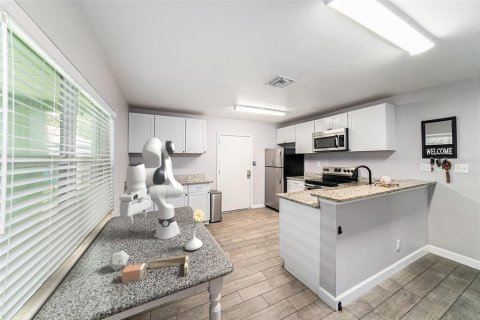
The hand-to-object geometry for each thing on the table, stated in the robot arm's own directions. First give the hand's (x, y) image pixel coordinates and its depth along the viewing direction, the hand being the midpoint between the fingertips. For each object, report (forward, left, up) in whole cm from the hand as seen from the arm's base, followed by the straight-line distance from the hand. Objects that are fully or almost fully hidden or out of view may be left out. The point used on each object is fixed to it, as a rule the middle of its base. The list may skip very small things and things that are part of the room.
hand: (138, 220), depth 92 cm
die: (-8, -13, -28) cm, 31 cm away
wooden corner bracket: (+3, +14, -27) cm, 31 cm away
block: (+3, -2, -28) cm, 28 cm away
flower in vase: (-19, +27, -28) cm, 43 cm away
